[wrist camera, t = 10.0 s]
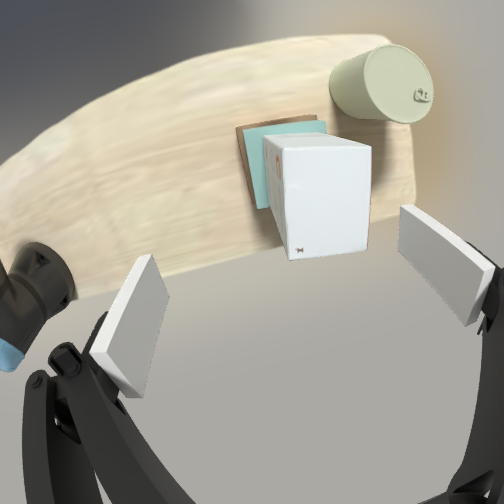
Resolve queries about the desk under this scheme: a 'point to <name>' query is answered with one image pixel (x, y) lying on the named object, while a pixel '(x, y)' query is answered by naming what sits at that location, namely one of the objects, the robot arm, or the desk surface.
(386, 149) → the desk surface
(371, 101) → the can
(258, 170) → the top slab
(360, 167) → the small box
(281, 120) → the bottom slab
